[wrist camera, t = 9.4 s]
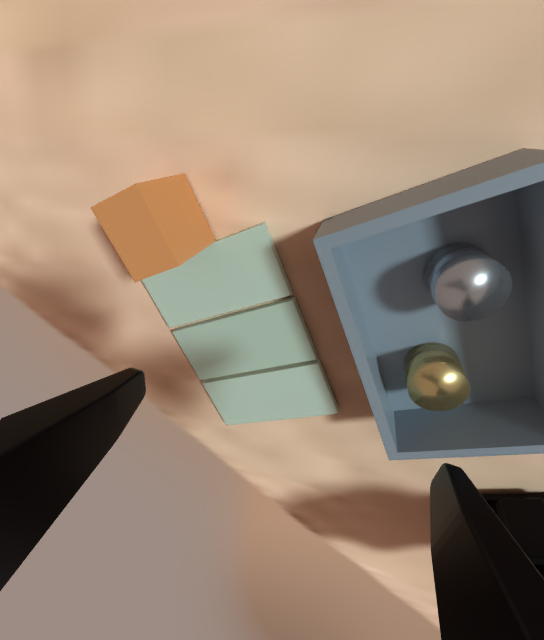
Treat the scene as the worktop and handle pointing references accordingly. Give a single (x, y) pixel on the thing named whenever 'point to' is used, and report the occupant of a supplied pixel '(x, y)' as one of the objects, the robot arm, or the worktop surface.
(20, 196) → the worktop surface
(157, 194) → the mint drawer unit
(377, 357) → the tub
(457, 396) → the brass slug
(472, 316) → the steel slug
